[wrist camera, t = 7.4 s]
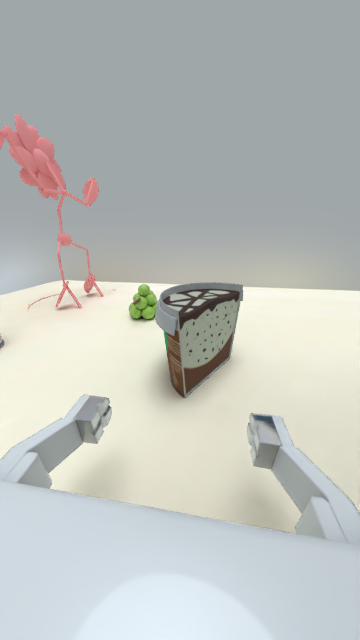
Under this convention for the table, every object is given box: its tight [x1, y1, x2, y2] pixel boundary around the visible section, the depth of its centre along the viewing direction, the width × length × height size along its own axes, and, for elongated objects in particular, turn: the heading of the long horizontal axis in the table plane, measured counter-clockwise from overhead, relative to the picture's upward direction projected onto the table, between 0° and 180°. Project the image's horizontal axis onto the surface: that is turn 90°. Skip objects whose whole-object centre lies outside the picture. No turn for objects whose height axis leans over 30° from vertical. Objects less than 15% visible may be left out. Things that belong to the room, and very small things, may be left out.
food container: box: [155, 282, 243, 398], centre depth 22 cm, size 12×6×10 cm, turn 137°
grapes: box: [129, 284, 158, 319], centre depth 38 cm, size 7×11×6 cm, turn 172°
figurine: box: [0, 114, 103, 308], centre depth 42 cm, size 15×26×35 cm, turn 169°
